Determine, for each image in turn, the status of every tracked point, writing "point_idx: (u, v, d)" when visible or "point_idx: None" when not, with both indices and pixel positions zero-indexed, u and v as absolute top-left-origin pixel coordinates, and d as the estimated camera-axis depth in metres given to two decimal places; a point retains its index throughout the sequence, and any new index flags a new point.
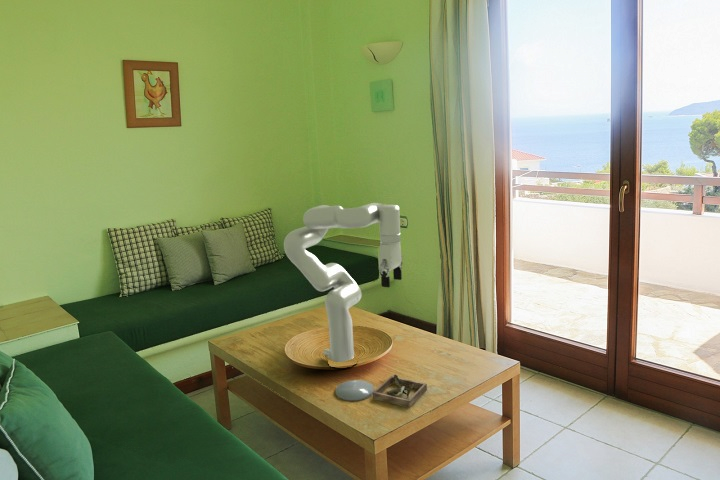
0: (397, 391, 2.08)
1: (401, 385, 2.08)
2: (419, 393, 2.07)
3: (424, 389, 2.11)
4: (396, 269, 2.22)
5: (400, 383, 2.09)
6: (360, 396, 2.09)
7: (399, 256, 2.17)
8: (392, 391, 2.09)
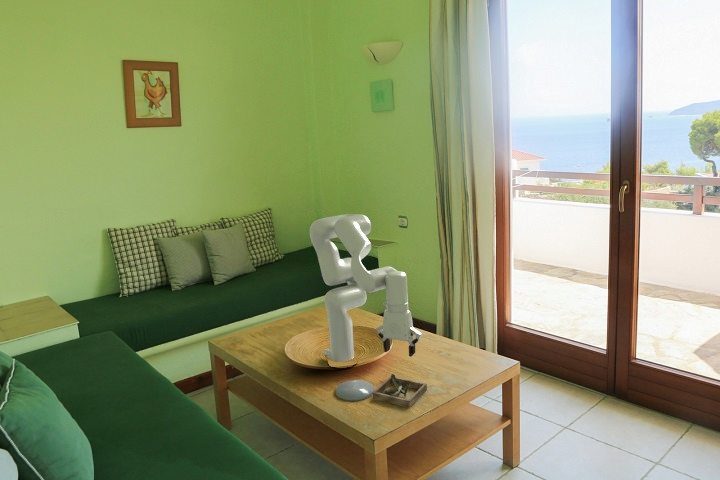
0: (394, 390, 2.09)
1: (398, 384, 2.09)
2: (419, 393, 2.07)
3: (424, 389, 2.11)
4: (387, 340, 2.08)
5: (397, 382, 2.09)
6: (360, 396, 2.09)
7: None
8: (389, 390, 2.10)
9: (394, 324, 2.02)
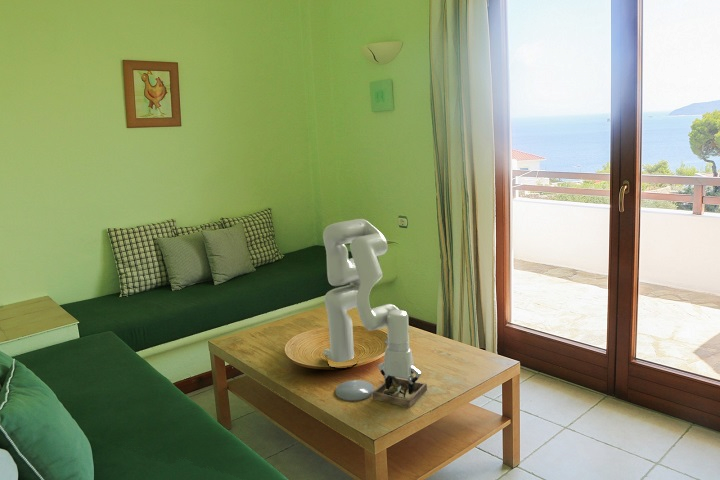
0: (394, 391, 2.09)
1: (398, 385, 2.09)
2: (419, 393, 2.07)
3: (424, 389, 2.11)
4: (389, 377, 2.11)
5: (397, 383, 2.09)
6: (360, 396, 2.09)
7: None
8: (389, 391, 2.10)
9: (395, 362, 2.05)
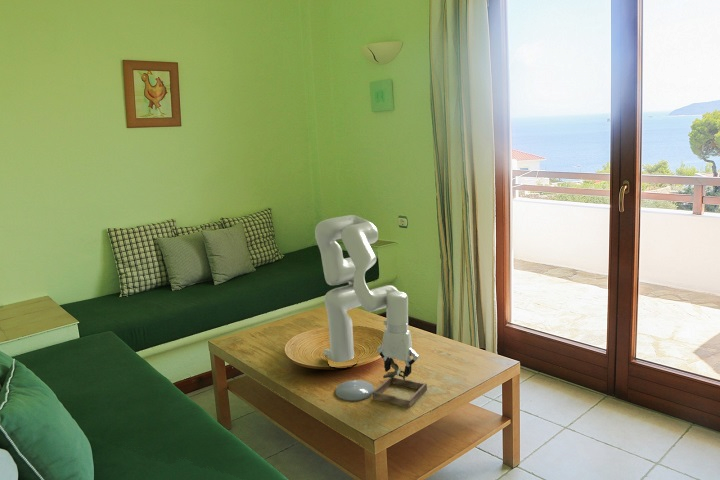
0: (393, 374, 2.08)
1: (397, 368, 2.08)
2: (419, 393, 2.07)
3: (424, 389, 2.11)
4: (388, 360, 2.10)
5: (396, 366, 2.09)
6: (360, 396, 2.09)
7: None
8: (388, 374, 2.09)
9: (393, 344, 2.04)
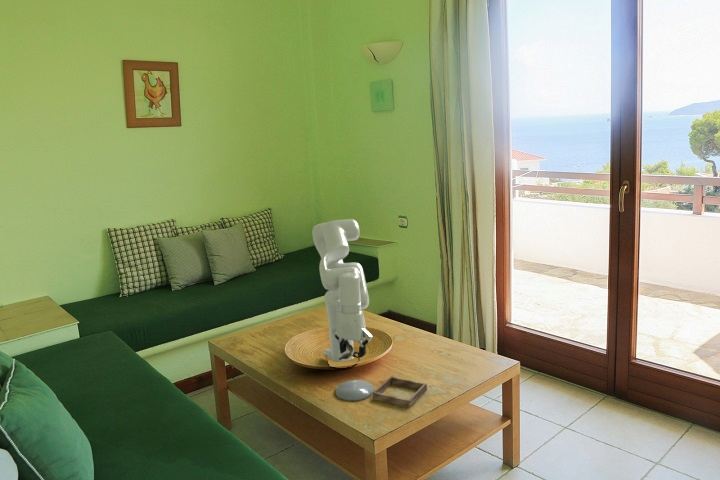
0: (348, 355, 2.09)
1: (352, 349, 2.10)
2: (419, 393, 2.07)
3: (424, 389, 2.11)
4: (343, 341, 2.12)
5: (350, 347, 2.10)
6: (360, 396, 2.09)
7: None
8: (343, 356, 2.11)
9: (347, 324, 2.06)
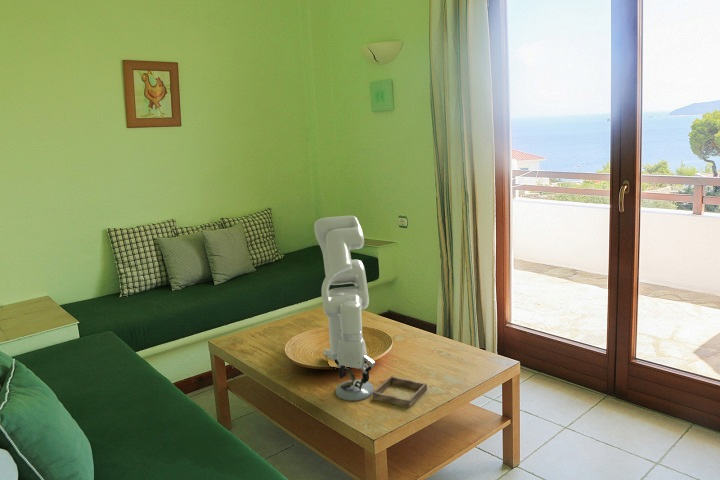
0: (350, 384, 2.12)
1: (354, 378, 2.13)
2: (419, 393, 2.07)
3: (424, 389, 2.11)
4: (342, 367, 2.15)
5: (353, 376, 2.13)
6: (360, 396, 2.09)
7: None
8: (345, 384, 2.14)
9: (348, 352, 2.08)
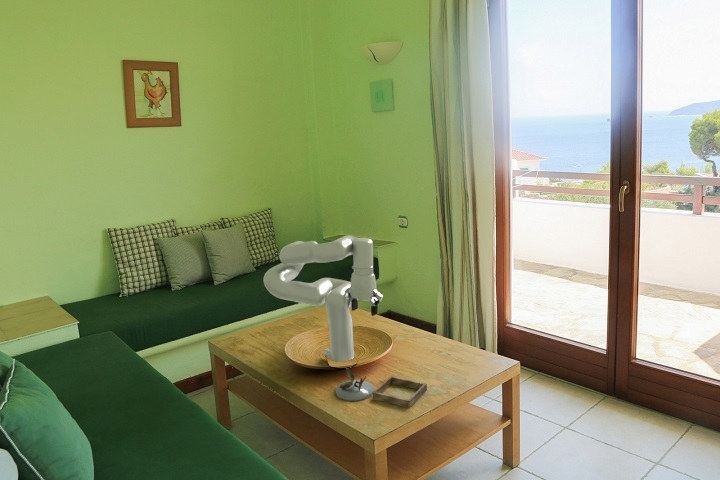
0: (349, 384, 2.12)
1: (353, 378, 2.13)
2: (419, 393, 2.07)
3: (424, 389, 2.11)
4: (354, 300, 2.31)
5: (352, 376, 2.13)
6: (360, 396, 2.09)
7: None
8: (344, 384, 2.14)
9: (359, 285, 2.24)
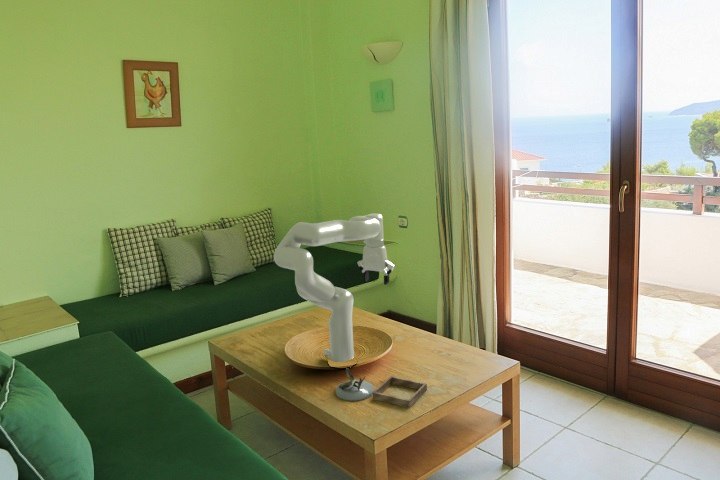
0: (348, 384, 2.13)
1: (352, 378, 2.13)
2: (419, 393, 2.07)
3: (424, 389, 2.11)
4: (366, 272, 2.50)
5: (351, 376, 2.13)
6: (360, 396, 2.09)
7: None
8: (343, 384, 2.14)
9: (372, 257, 2.43)
